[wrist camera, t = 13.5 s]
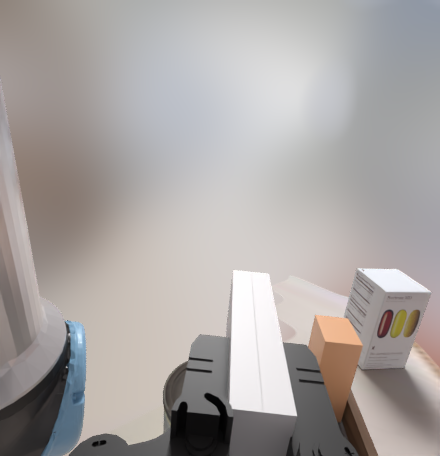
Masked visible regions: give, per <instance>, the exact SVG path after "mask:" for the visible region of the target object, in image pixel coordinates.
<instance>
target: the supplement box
mask: <svg viewBox="0 0 440 456" xmlns="http://www.w3.org/2000/svg"><path fill="white" fill-rule="evenodd" d="M430 296H431V292H430V291H429V290H428V289H426V288H425V287H423V286H422V285H420V284H419V283H417V282H416V281H414V280H413V279H411V278H410V277H408V276H407V275H405V274H404V273H402V272H401V271H399V270H398V269H361V268H357V270H356V273H355V277H354V281H353V284H352V288H351V292H350V296H349V300H348V303H347V307H346V311H345V315H344V318H348V319H349V321H350V323H351V324H352V326H353V328H354V330H355V332H356V334H357V335H358V337H359V339H360V341H361V343H362V345H363V348H362V351H361V354H360V358H359V361H358V365H359V366H360V368H361V369H362V370H364V369H387V368H404V367H405V365H406V362H407V359H408V356H409V354H410V351H411V348H412V345H413V343H414V340H415V337H416V334H417V332H418V329H419V326H420V323H421V321H422V318H423V315H424V312H425V310H426V307H427V304H428V302H429V298H430Z"/></svg>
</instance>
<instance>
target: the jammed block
mask: <svg viewBox="0 0 440 456" xmlns="http://www.w3.org/2000/svg"><path fill="white" fill-rule="evenodd" d="M308 348H309V349H310V350H311V351H312V353H313V354H314V355H315V356H316V358H317V361H318V364H319V367H320V373H321V374H322V377H323V380H324V385H325V386H326V389H327V392H328V395H329V398H330V401H331V404H332V407H333V410H334V413H335V416H336V419H337V422H340V423H341V420H342V417H343V413H344V410H345V406H346V403H347V399H348V396H349V393H350V389H351V386H352V382H353V379H354V375H355V372H356V368H357V365H358V361H359V358H360V354H361V351H362V348H363V345H362V343H361V341H360V339H359V337H358V335H357V334H356V332H355V330H354V328H353V326H352V324H351V323H350V321H349V319H348V318H338V317H329V316H320V315H315V318H314V323H313V327H312V332H311V337H310V341H309V346H308Z"/></svg>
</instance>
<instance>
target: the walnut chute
mask: <svg viewBox="0 0 440 456" xmlns="http://www.w3.org/2000/svg"><path fill="white" fill-rule="evenodd" d="M338 426H339V429H340V431H341V433H342V436H343V437H345V438H346V439H347V440H348V441H349V442H350V443H351V444H352V446H353V447H354V448H355V450H356V452H357V453H358V455H359V456H378V454H377V452H376V449H375V447H374V444H373V442H372V439H371V437H370V435H369V432H368V430H367V427H366V425H365V422H364V420H363V417H362V415H361V413H360V410H359V408H358V405H357V403H356V400H355V398H354V396H353V393H352V391H351V389H350V393H349V396H348V399H347V403H346V406H345V410H344V413H343V417H342V420H341V423H340V422H338Z"/></svg>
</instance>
